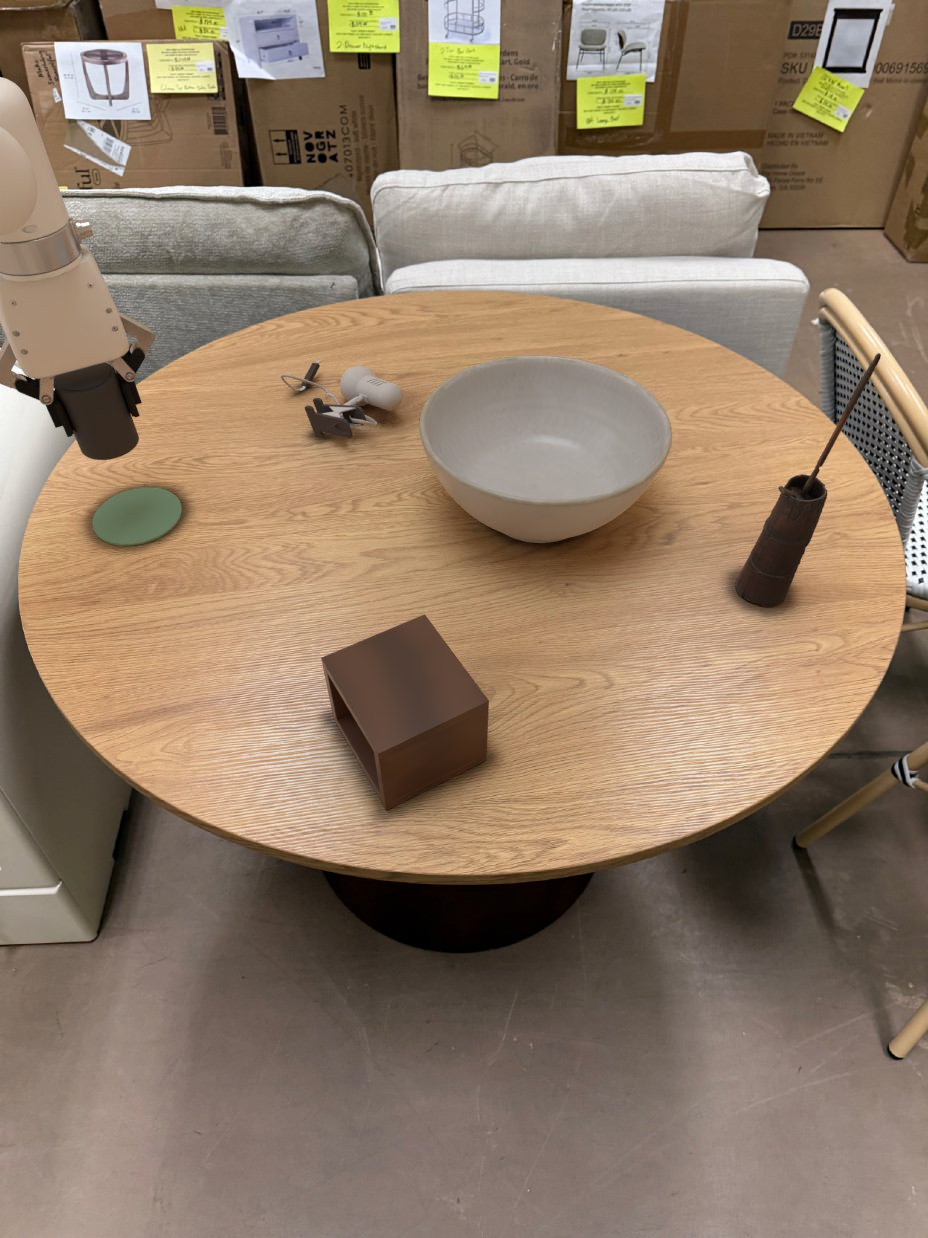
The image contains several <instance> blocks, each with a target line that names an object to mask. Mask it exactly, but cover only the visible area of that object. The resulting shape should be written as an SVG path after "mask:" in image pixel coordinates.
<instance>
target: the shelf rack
mask: <svg viewBox="0 0 928 1238" xmlns="http://www.w3.org/2000/svg"><path fill="white" fill-rule="evenodd" d="M320 660H321V664H322V669H323V674H324V680H325V684H326V689H327V695H328V699H329V703H330V709H331V713H332V719H333V721H334V722H335V724H336V726H337V727H338V729H339V731H340V733H341V734H342V736H343V738H344V739H345V741H346V743H347V745H348V747H349V748H350V750H351V752H352V754H353V755H354V757H355V759H356V761H357V762H358V764H359V765H360V768H361V769H362V771H363V774H364V775H365V776H366V778H367V780H368V781H369V783H370V785H371V787H372V788H373V790H374V792H375V794H376V795H377V797H378V799H379V801H380V803H381V804H382V806H383V807H384V809H385V811H389V810H391V809H394V808H395V807H397V806H399V805H401V804H403V803H405V802H406V801H409V800H410V799H412V798H415V797H417V796H418V795H420V794H423V793H424V792H427V791H429V790H431V789H432V788H435V787H436V786H438V785H440V784H443V783H444V782H446V781H448V780H450V779H452V778H454V777H456V776H458V775H460V774H462V773H464V772H466V771H468V770H470V769H472V768H474V767H476V766H478V765H480V764H482V763H484V762H486V761H487V758H488V757H487V756H488V755H487V754H488V738H489V737H488V734H489V709H490V708H489V707H490V706H489V705H490V700H489V699H488V697H487V696H486V695H485V694H484V692H483V690H482V689H481V688H480V687H479V685H478V684H477V683H476V681H475V679H474V678H473V677H472V676H471V674H470V673H469V671H467V668H465V666H464V665H463V664H462V663H461V661H460V660H459V658H458V657H457V656H456V654H455V652H454V651H453V650H452V649H451V648H450V646H449V645H448V643H447V642H446V641H445V640H444V638H443V636H442V635H441V634H440V632H439V631H438V630H437V629H436V627H435V626H434V624H433V623H432V622H431V621H430V619H429V618H428V617H427V615H426V614H425V613H424V614H421V615H419V616H417V617H414V618H412V619H410V620H407V621H405V622H402V623H400V624H398V625H396V626H393V627H390V628H388V629H386V630H383V631H382V632H381V631H380V632H379V633H377V634H374V635H372V636H369V637H367V638H365V639H362V640H360V641H357V642H355V643H353V644H350V645H348V646H346V647H343V648H341V649H339V650H336V651H334V652H331V653H329V654H327V655H325V656H322V657H321V658H320Z"/></svg>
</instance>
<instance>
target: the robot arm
mask: <svg viewBox="0 0 928 1238" xmlns="http://www.w3.org/2000/svg"><path fill="white" fill-rule="evenodd" d="M93 236H94V232H93V229H92V227H91V223H90V222H89V219H84V220H79V219H74V218H73V217H70V215H69V212H68V209H67V206H66V204H65V201H64V198H63V195H62V191H61V190H60V187H59V183H58V181H57V178H56V175H55V172H54V169H53V167H52V164H51V161H50V158H49V155H48V153H47V149H46V147H45V144H44V141H43V138H42V136H41V133H40V130H39V127H38V124H37V121H36V118H35V115H34V112H33V109H32V107H31V105H30V102H29V100H28V98H27V96H26V94H25V92H24V91H23V90H22V89H21V87H20V86H19V85H17V83H15V82H14V81H12V80H10V79H8V78H5V77H1V76H0V325H1V328H2V330H3V333H4V335H5V337H6V338H5V339H4V342H3V343H2V346H1V347H0V385H2V386H5V387H7V388H9V389H14V390H16V391H17V392H18V393H20V394H22V395H25V396H27V397H30V398H32V399H35V400H37V401H39V402H40V403H41V405H43V406H45V408H46V409H47V412H48V414H49V416H50V419H51V421H52V423H53V425H54V428H55V429H57V428H61V427H63V430H64V432H65V435H66V437H67V438H71V437H73V436H74V432H73V430H72V428H71V425H70V423H69V421H68V418H67V416H66V414H65V411H64V409H63V407H62V404H61V402H60V400H59V398H58V396H57V394H56V391H55V389H54V376H56V375H60V374H64V373H67V372H71V371H75V370H79V369H83V368H86V367H90V366H94V365H97V364H101V363H108V364H110V365H111V366H112V367H113V368H114V369H115V372H116V374H117V377H118V380H119V383H120V386H121V388H122V391H123V394H124V397H125V400H126V402H127V405H128V408H129V411H130V413H131V416H132V418H138V417H141V416H140V413H139V409H138V407H137V405H141V404H142V399H141V396H140V393H139V390H138V388H137V387H138V386H137V385H136V381H135V380H136V379H137V373H138V371H139V369H140V367H141V365H142V364H143V362H144V361H145V359H146V355H147V353H148V352H149V350H150V349H151V347H152V346H153V344H154V342H155V341H156V335H155V333H154V332H153V330H152V329H151V328H150V327H148V326H147V325H144V324H143V323H140V322H139V321H137V320H135V319H133V318H132V317H129V316H128V315H126V314H124V313H121V312H120V311H118V308H117V305H116V304H115V301H114V298H113V296H112V294H111V291H110V289H109V287H108V285H107V282H106V280H105V278H104V277H103V274H102V272H101V270H100V267H99V265H98V263H97V261H96V259H95V258H94V256H93V254H92V252H91V251H90V249H89V247H88V246H87V245H85V244H83V240H86V239H87V238H89V237H93ZM127 334H128V335H129V336H131V337H133V338H134V339H133V342H132V343H129V339H128V336H127ZM16 363H17V364H18V366H19V367H20V369H21V371H22V372H23V373H17V372H15V371H14V370H13V368H14V366H15V364H16Z"/></svg>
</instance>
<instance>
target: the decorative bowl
mask: <svg viewBox="0 0 928 1238" xmlns="http://www.w3.org/2000/svg"><path fill="white" fill-rule="evenodd" d="M418 423H419V435H420V440H421V444H422V447H423V451H424V453H425V456H426V458H427V460H428V462H429V464H430V466H431V469H432V471H433V473H434V474H435V476H436V478H437V479H438V481H439V482H440V484H441V485H442V487H443V488H444V490H445V491H446V492H447V494H448V495H449V496H450V497H451V498H452V499H453V500H454V502H455V503H456V504H458V506H459V507H461V508H462V510H463V511H465V512H466V513H467V514H468V515H470V516H471V517H472V518H474V519H475V520H477V521H478V522H480V523H481V524H483V525H485V526H487V527H489V528H491V529H493V530H495V531H497V532H500V533H502V534H504V535H506V536H508V537H510V538H512V539H515V540H518V541H522V542H526V543H532V544H533V543H535V544H547V543H555V542H559V541H563V540H566V539H569V538H574V537H577V536H580V535H581V536H582V535H584V534H587V533H589V532H592V531H594V530H597V529H599V528H601V527H602V526H605V525H606V524H608V523H610V522H611V521H613V520H615V519H617V517H619V516H620V515H622V514H623V513H624V512H626V511H627V510H628V509H629V508H630V507H631V506H632V505H634V504H635V503H636V502H637V501H638V500H639V499H640V498H641V497H642V495H643V494H644V493H645V492H646V491H647V489H648V488H649V487H650V486H651V485H652V483H653V482H654V480H655V479H656V477H657V476H658V474H659V473H660V471H661V470H662V469H663V467H664V464H665V463H666V461H667V458H668V456H669V454H670V452H671V448H672V444H673V443H672V442H673V429H672V423H671V421H670V417H669V415H668V413H667V411H666V409H665V408H664V406H663V404H662V403H661V402H660V400H658V398H657V397H656V396H655V395H654V394H653V393H652V392H651V391H650V390H648V389H647V387H645V386H643V385H642V384H641V383H639V382H638V381H637V380H635V379H633V378H631V377H630V376H628V375H626V374H624V373H622V372H620V371H618V370H615V369H613V368H610V367H608V366H605V365H602V364H599V363H596V362H592V361H588V360H584V359H579V358H574V357H568V356H559V355H544V354H531V355H527V354H526V355H516V356H507V357H501V358H495V359H492V360H488V361H484V362H481V363H478V364H475V365H472V366H470V367H467V368H465V369H463V370H460V371H459V372H457V373H455V374H453V375H452V376H450V377H449V378H447V379H446V380H445V381H443V382H442V383H440V384H439V386H437V387H436V388H435V389H434V390H433V391H432V392H431V393H430V395H429V396H428V398H427V399H426V401H425V403H424V405H423V407H422V409H421V412H420V417H419V422H418Z"/></svg>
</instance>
